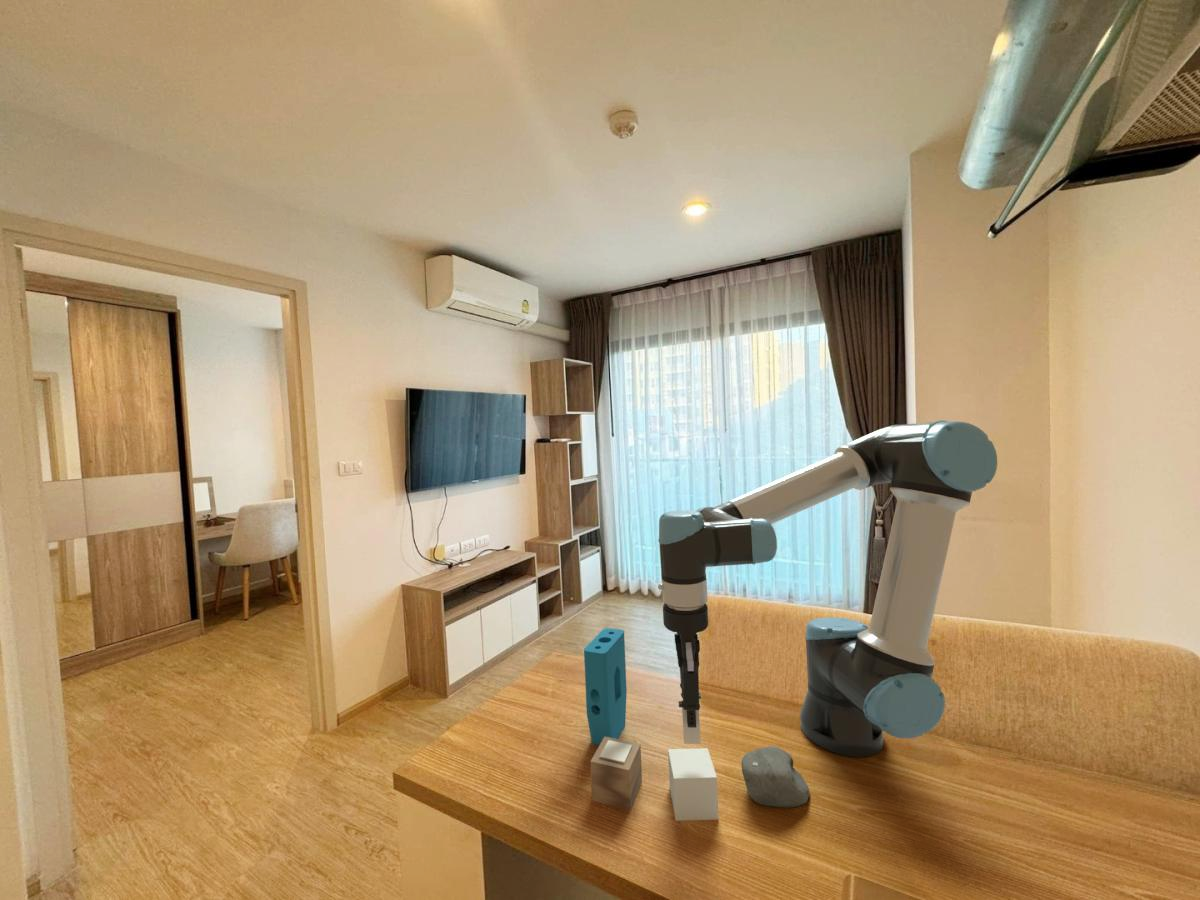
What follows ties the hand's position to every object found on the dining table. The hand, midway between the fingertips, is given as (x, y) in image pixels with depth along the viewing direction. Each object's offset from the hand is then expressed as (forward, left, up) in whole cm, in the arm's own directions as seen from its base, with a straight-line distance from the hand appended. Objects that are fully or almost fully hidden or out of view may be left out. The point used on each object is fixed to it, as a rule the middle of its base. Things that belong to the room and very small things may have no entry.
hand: (692, 740), depth 77 cm
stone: (-14, -3, -11) cm, 18 cm away
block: (+16, -18, -11) cm, 27 cm away
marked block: (+13, -2, -11) cm, 17 cm away
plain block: (0, 0, -11) cm, 11 cm away
